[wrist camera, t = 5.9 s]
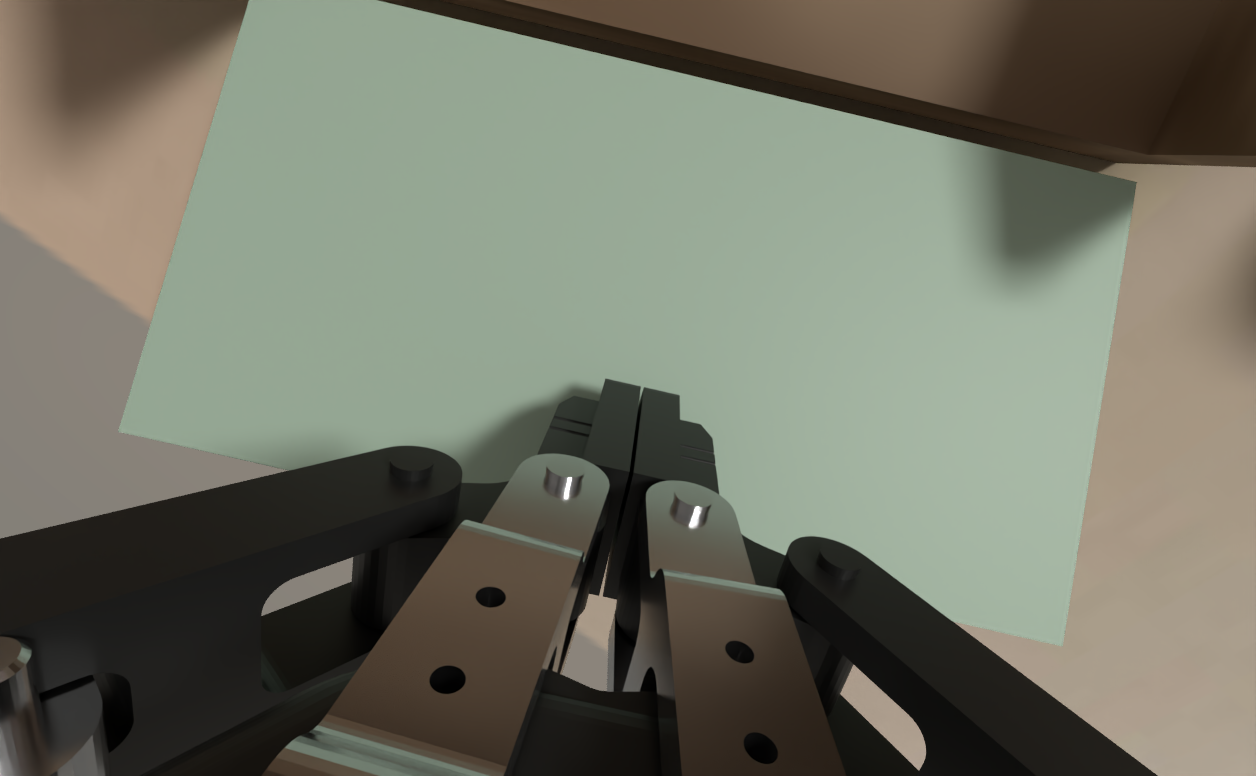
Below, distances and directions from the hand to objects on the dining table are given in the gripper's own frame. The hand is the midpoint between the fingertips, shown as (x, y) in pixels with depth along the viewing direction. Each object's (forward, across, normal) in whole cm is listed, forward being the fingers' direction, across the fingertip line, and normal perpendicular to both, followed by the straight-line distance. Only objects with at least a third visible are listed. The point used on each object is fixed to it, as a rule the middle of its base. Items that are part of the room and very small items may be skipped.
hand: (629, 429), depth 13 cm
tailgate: (+4, 0, -6) cm, 8 cm away
